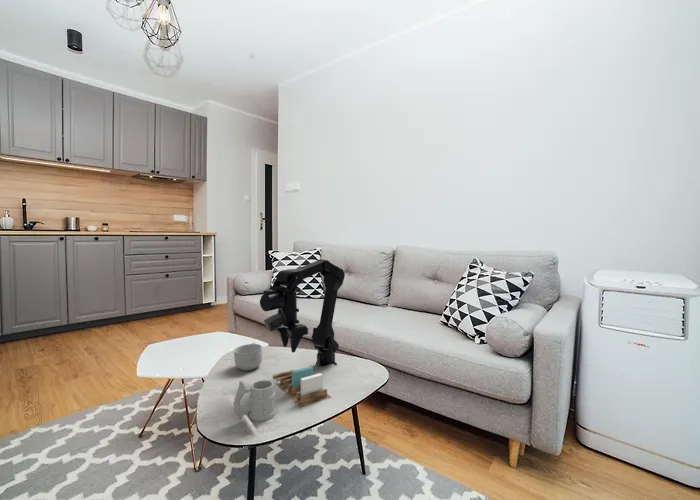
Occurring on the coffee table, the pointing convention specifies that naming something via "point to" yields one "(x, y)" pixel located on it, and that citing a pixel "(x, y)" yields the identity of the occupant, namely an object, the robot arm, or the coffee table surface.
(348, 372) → the coffee table surface
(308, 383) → the cream plate
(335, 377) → the coffee table surface
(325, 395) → the rack
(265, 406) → the mug
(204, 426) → the coffee table surface
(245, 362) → the teacup
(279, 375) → the wooden slats
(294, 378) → the teal rectangular prism
